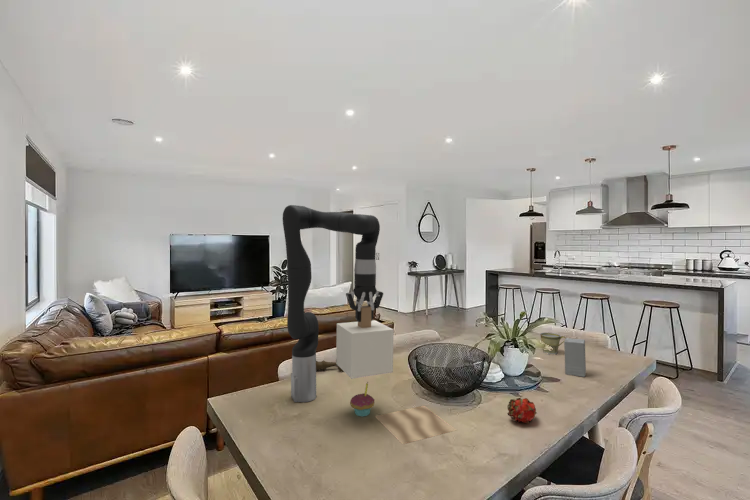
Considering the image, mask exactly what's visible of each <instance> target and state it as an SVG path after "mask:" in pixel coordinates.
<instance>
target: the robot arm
mask: <svg viewBox="0 0 750 500" xmlns="http://www.w3.org/2000/svg"><path fill="white" fill-rule="evenodd" d="M282 227H283V233H284V240H285V241H284V242H285V251H286V253H285V254H286V274H287V276H286V277H287V293H288V294H287V295H288V296H287V298H288V299H287V300H288V302H287V305H288V306H287V318H286V319H287V322H286V323H287V324H286V325H287V331H288V335H289V336H290V337H291V339H293V340H298V341H297V342H296V343H295V345H293V347H292V348H291V349H292V350H291V362H292V363H291V365H292V366H291V370H292V371H291V373H290V394H291V395H290V397H291V400H293V402H294V403H307V402H312V401H314V400H316V398H317V371H316V361H317V348H318V345H319V331H320V330H319V321H318V318H317V316H316V315H315V313H313V312H312V311H311V312H310V311H307V312H305V302H306V301H305V300H306V297H307V294H308V292H309V289H310V286H311V283H312V263H311V260H310V257H309V254H308V253H307V251H306V250H305V247H304V245H303V243H302V237H301V230H307V229H317V228H318V229H324V230H328V231H333V232H336V233H337V232H338V233H349V234H351V235H352V234H354V235H358V236H361V240H360V241H359V242H357V243H356V245H355V253H354V254H355V256H354V257H355V261H354V268H353V269H354V270H353V272H354V273H353V275H354V277H353V279H354V280H353V281H354V282H353V283H354V284H353V286H354V287H353V290H352V291H351V292H347V293H345V296H346V299H347V302H348V306H349V308H350V309H351V310H353V311H355V314H354V315H355V320H356V322H361V307H362V306H364V305H363V304H364V302H366V304H367V305H368V306H370V307H371V321H372V320H374V311H375V310H376V309H379V308H380V304H381V302H382V299H383V297H384V292H383V291H380V290H379V291H378V289H377V288H376V285H377V261H376V255H377V254H376V249H377V248H376V247H377V244H378V241H379V235H380V230H381V225H380V221H379V219H378V218H377V217H376V216H375V215H371V214H360V213H358V214H356V213H348V212H338V211H320V210H316V209H312V208H311V207H306V206H304V205H294V204H288V205H287V206H286V207H284V210H283V212H282ZM374 297H375V299H374ZM354 298H356V299H355V300H354Z"/></svg>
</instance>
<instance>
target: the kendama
mask: <svg viewBox="0 0 750 500" xmlns="http://www.w3.org/2000/svg"><path fill="white" fill-rule="evenodd" d="M336 366H337V369H338V372H340V373H345V372H344V371H343V370H342V369H341V368H340V367H339V366H338V365H337V364H336V361H335V362H333V361H331V362H330V361H325V360H322V361H318V360H316V372H318V371H319V370H322V371H325V370H326V369H329V368H332V367H336Z"/></svg>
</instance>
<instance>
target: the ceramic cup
mask: <svg viewBox="0 0 750 500" xmlns="http://www.w3.org/2000/svg"><path fill="white" fill-rule="evenodd" d="M563 338H564V340H563V341H561V339H563ZM566 338H567V337H565V336H563V335H561V334H559V333H555V332H542V333H540V341H541V342H542V341H543V342H544V343H545V344H547V345H549V346H551V347H552V348H553V350H552V351H549V350H543V349H542V350H543V354H545V353H548V354H547V355H549V354H555V355H558V352H559V347H560V346H561V345H562V344H564V341H565V339H566Z"/></svg>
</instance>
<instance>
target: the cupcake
mask: <svg viewBox="0 0 750 500" xmlns="http://www.w3.org/2000/svg"><path fill="white" fill-rule="evenodd" d="M368 385H369V381H366V384H365V388H364V393H358V394H355V395H354V396H352V397H351V399H350V402H349V403H350V407H351V408H352V409H353V411H354V413H355V415H356V416H358V417H366V416H369V415H370V412H371V409H372V408H373V407H374V405H375V399H374V397H373V396H371V395H370V394H368V393H367V392H368Z"/></svg>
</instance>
